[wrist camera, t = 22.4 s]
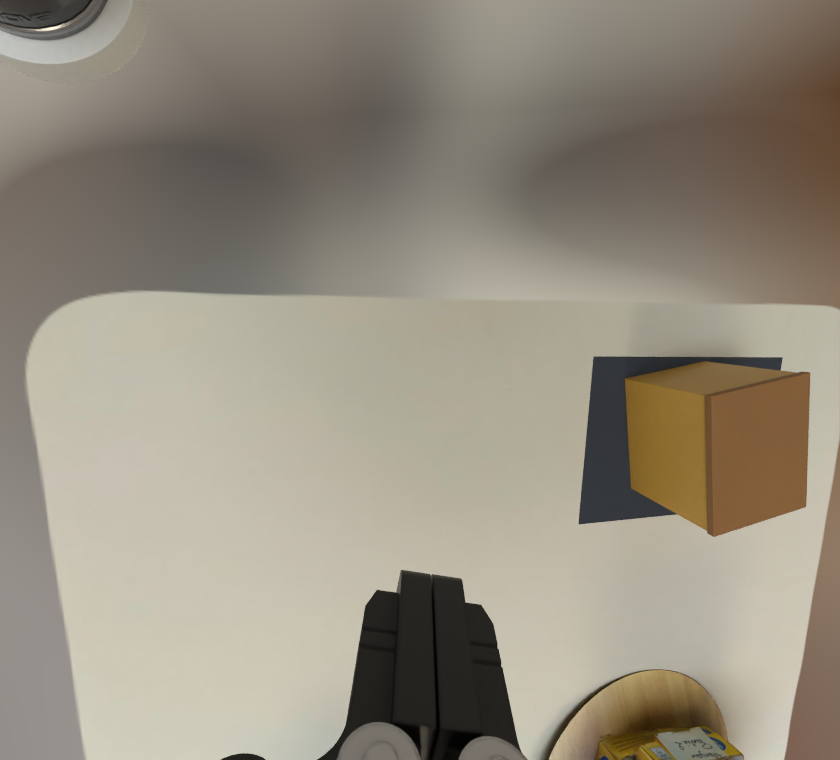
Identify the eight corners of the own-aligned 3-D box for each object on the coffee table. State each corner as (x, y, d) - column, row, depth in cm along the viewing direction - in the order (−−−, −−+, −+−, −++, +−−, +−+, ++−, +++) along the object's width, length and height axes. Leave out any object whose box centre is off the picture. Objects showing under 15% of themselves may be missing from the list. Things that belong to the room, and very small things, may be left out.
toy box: (629, 489, 41) (714, 537, 32) (623, 377, 39) (711, 396, 30) (707, 467, 43) (806, 507, 34) (705, 359, 40) (810, 372, 32)
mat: (593, 356, 38) (594, 356, 37) (781, 357, 43) (782, 357, 43) (577, 523, 40) (578, 524, 40) (757, 505, 45) (759, 505, 45)
